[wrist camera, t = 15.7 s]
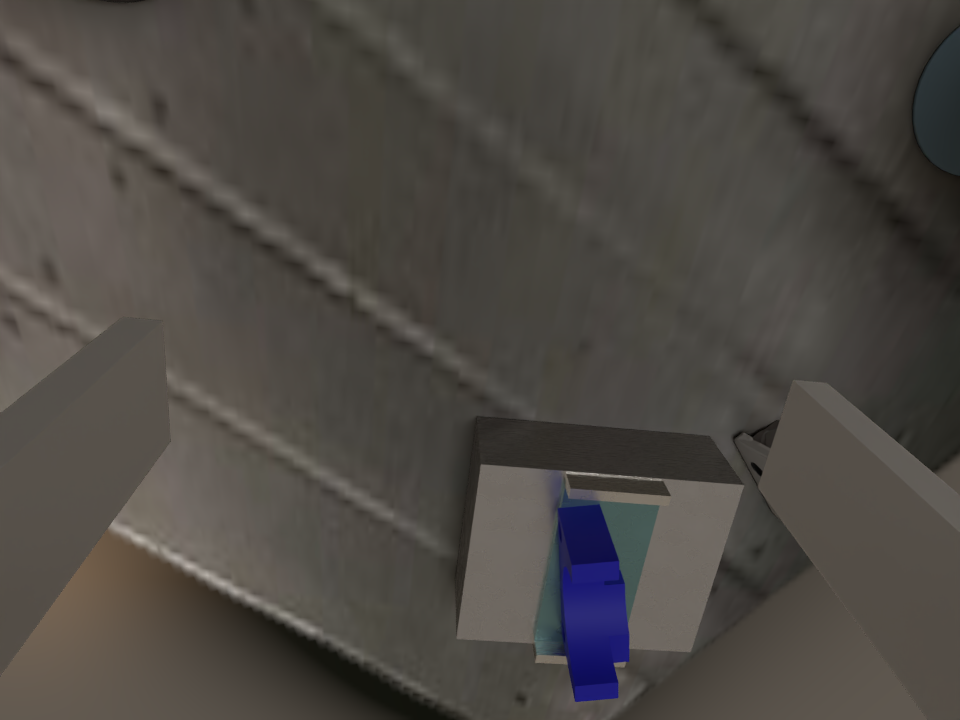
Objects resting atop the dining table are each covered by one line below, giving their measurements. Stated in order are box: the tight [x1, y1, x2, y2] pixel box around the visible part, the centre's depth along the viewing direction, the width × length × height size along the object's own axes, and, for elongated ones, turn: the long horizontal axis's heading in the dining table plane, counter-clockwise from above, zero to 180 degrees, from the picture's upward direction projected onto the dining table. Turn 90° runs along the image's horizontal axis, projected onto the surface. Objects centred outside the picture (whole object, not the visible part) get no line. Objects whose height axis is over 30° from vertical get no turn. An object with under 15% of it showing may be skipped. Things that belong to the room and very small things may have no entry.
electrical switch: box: [734, 420, 781, 520], centre depth 53 cm, size 9×5×9 cm, turn 32°
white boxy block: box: [455, 416, 744, 667], centre depth 54 cm, size 19×16×9 cm
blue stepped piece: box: [557, 504, 629, 702], centre depth 48 cm, size 12×4×6 cm, turn 4°
